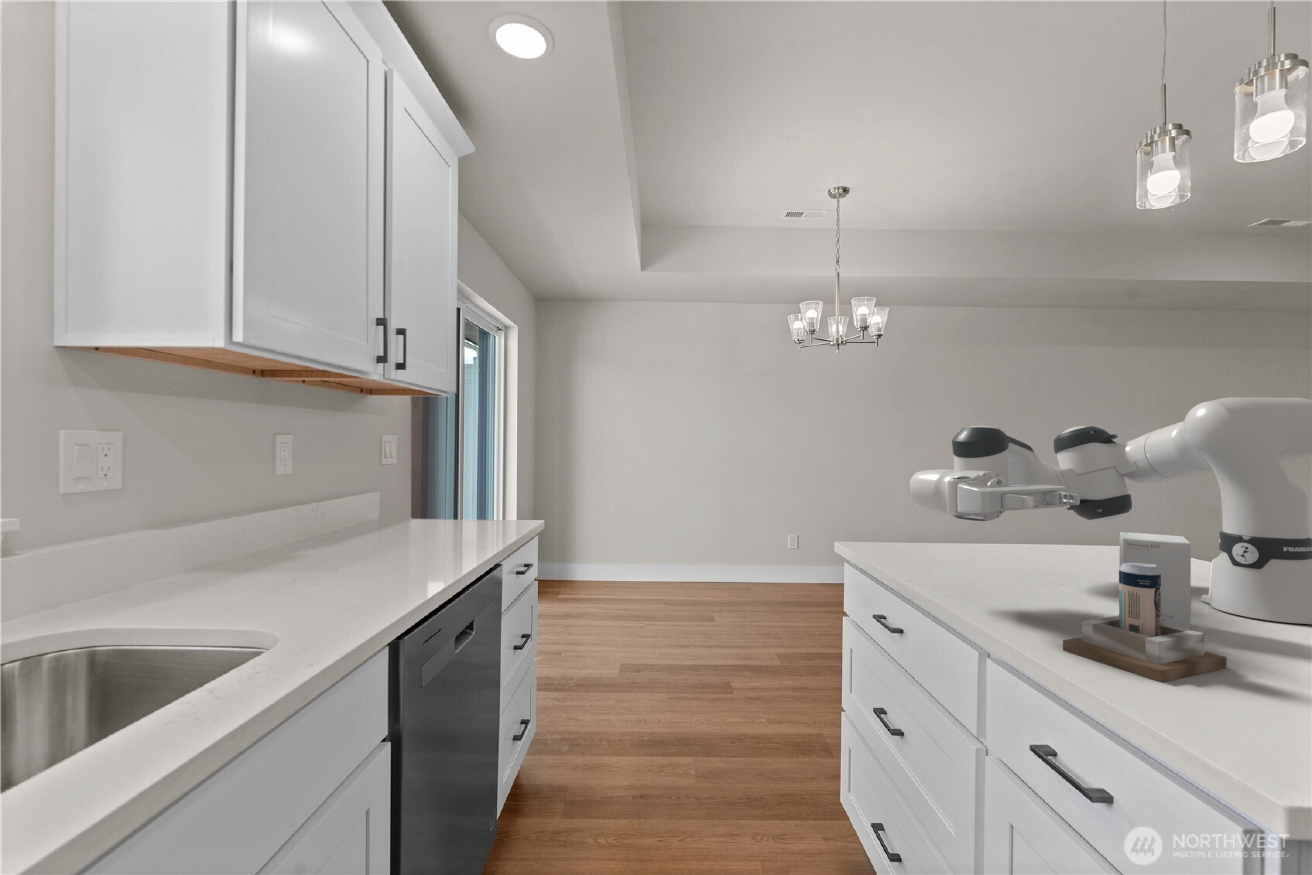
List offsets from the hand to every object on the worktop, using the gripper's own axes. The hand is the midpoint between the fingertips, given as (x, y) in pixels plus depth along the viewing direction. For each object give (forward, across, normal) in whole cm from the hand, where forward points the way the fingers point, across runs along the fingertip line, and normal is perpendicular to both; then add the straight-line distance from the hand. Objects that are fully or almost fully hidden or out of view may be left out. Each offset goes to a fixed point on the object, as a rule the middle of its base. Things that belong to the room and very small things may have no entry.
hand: (1056, 501), depth 99 cm
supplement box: (+2, -20, -22) cm, 30 cm away
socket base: (+12, 0, -22) cm, 25 cm away
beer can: (+12, 0, -20) cm, 23 cm away
